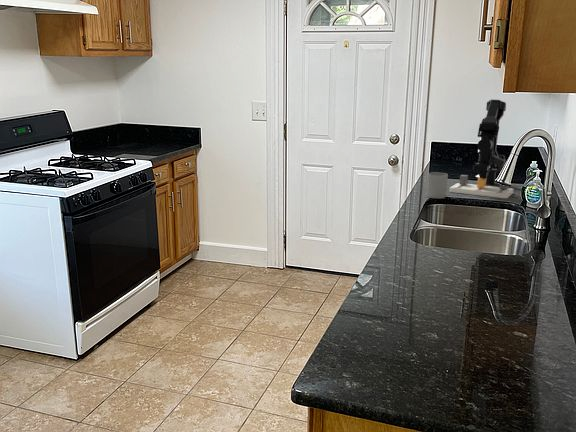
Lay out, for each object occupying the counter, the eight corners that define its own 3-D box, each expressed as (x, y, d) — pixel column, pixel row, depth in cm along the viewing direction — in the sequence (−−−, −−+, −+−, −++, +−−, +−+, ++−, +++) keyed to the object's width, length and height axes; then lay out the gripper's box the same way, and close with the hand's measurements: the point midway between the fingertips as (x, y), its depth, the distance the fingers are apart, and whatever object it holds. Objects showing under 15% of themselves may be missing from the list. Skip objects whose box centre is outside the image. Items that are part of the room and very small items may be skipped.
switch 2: (501, 187, 250) (501, 178, 249) (508, 188, 248) (508, 179, 247) (499, 188, 248) (500, 179, 247) (506, 189, 246) (507, 180, 245)
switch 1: (461, 183, 260) (461, 174, 259) (467, 183, 258) (468, 175, 257) (459, 184, 257) (460, 175, 256) (465, 184, 256) (466, 176, 254)
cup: (447, 195, 246) (449, 173, 243) (444, 199, 238) (446, 176, 236) (428, 193, 249) (430, 171, 246) (424, 197, 242) (426, 174, 239)
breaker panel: (457, 186, 263) (458, 182, 262) (513, 193, 250) (513, 188, 249) (449, 191, 252) (449, 187, 252) (506, 198, 239) (507, 193, 239)
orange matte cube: (478, 186, 252) (479, 177, 251) (485, 187, 250) (486, 178, 249) (477, 187, 250) (477, 178, 249) (483, 188, 248) (484, 179, 247)
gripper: (500, 153, 236) (496, 189, 240) (510, 148, 252) (506, 182, 256) (473, 151, 242) (470, 186, 246) (484, 146, 257) (481, 179, 261)
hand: (483, 183), depth 252 cm, fingers closed
